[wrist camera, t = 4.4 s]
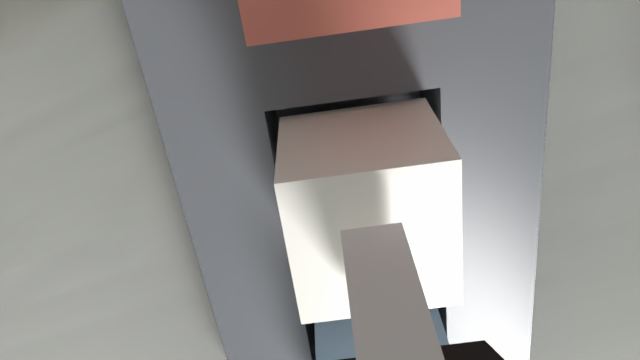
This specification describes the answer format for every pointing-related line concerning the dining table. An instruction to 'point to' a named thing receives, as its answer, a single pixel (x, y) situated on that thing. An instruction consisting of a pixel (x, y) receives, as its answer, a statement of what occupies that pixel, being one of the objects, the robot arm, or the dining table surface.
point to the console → (338, 93)
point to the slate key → (339, 342)
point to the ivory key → (368, 198)
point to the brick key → (333, 16)
